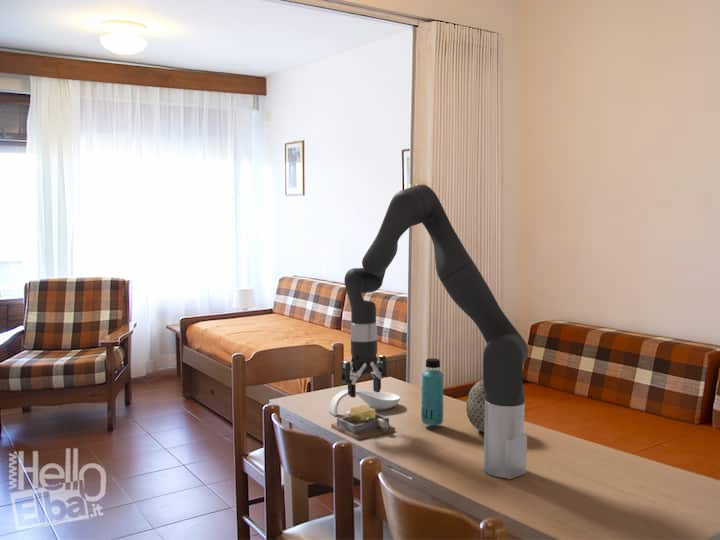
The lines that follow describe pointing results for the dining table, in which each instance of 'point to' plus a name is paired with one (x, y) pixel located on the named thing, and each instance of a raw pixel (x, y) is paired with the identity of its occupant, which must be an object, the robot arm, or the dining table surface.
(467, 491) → the dining table surface
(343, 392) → the spoon rest
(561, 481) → the dining table surface
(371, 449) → the dining table surface
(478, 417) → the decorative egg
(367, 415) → the yellow cube
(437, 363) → the beverage bottle
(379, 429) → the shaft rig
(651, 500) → the dining table surface
